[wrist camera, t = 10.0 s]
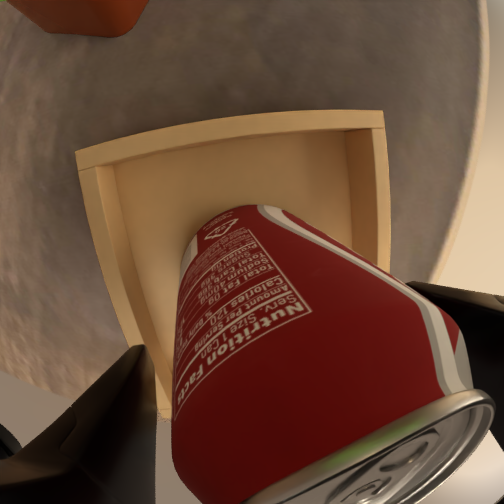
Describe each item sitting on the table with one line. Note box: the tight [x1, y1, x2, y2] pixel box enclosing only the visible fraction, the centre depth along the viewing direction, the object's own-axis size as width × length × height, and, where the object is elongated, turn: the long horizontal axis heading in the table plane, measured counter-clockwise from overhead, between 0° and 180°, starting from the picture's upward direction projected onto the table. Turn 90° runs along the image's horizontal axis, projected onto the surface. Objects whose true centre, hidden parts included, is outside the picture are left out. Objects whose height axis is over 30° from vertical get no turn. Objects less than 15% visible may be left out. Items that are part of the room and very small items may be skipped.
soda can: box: [171, 204, 496, 504], centre depth 9 cm, size 7×7×12 cm
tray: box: [75, 110, 391, 419], centre depth 13 cm, size 14×13×3 cm
